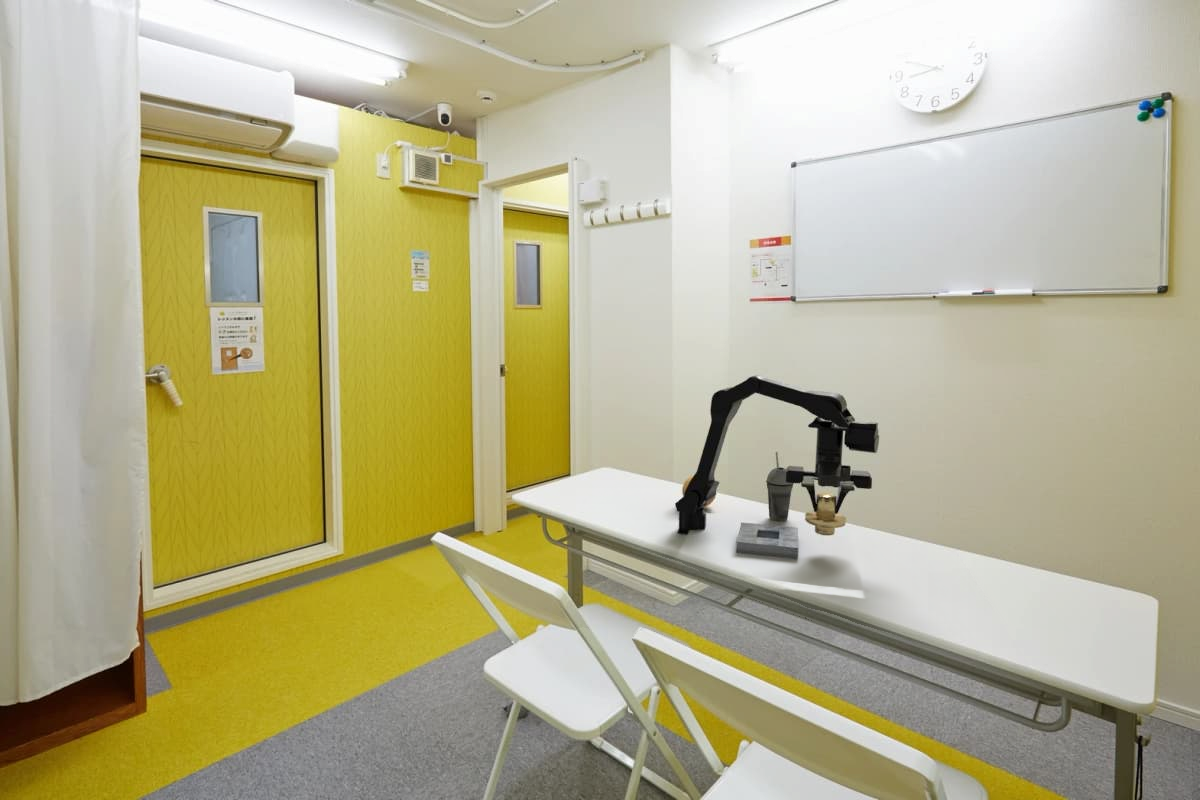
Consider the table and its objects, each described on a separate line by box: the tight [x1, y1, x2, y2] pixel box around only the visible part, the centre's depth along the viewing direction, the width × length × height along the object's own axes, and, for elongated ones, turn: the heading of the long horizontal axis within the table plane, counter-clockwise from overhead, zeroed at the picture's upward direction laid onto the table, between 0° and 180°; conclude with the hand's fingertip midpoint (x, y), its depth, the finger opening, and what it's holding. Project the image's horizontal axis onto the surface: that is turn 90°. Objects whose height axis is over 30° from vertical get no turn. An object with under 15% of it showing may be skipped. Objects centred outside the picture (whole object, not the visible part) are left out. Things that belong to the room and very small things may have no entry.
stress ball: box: [681, 474, 716, 508], centre depth 190 cm, size 10×10×10 cm
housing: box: [735, 522, 799, 560], centre depth 158 cm, size 14×14×4 cm
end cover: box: [804, 492, 847, 537], centre depth 152 cm, size 9×9×9 cm
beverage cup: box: [766, 451, 795, 522], centre depth 176 cm, size 7×7×20 cm
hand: (825, 512), depth 152 cm, fingers closed on end cover, 4 cm apart
